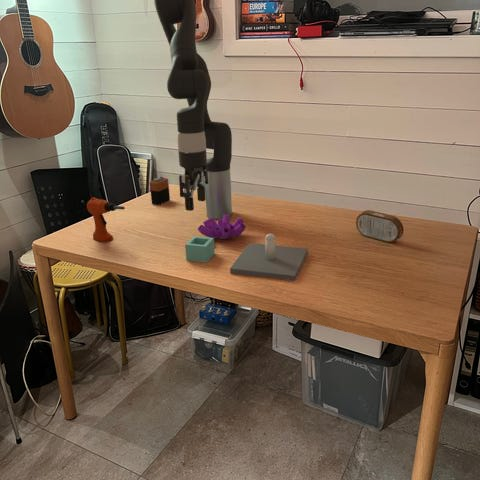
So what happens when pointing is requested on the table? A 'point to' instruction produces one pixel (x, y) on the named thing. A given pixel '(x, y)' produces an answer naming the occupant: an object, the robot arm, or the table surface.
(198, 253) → the collar
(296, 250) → the post plate
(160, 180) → the battery
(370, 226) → the tin
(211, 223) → the purple coral
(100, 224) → the toy drill
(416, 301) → the table surface
